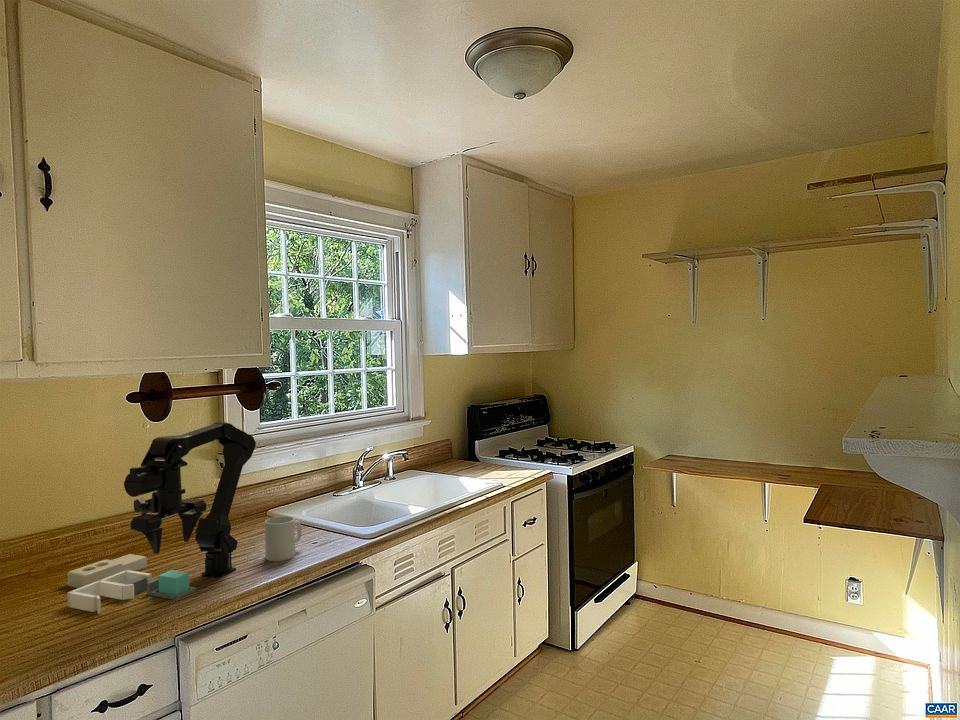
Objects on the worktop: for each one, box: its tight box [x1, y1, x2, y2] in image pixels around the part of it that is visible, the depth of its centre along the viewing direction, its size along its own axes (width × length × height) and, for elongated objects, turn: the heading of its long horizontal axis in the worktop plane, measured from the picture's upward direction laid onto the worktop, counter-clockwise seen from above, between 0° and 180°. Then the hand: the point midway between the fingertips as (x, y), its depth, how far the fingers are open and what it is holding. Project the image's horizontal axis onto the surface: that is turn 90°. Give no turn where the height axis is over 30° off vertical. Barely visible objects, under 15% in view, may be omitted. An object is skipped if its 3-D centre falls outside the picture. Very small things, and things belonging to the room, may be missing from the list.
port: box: [66, 570, 153, 615], centre depth 154 cm, size 11×16×4 cm
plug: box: [158, 569, 190, 595], centre depth 157 cm, size 7×4×5 cm, turn 69°
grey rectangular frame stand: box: [146, 578, 197, 601], centre depth 157 cm, size 10×6×3 cm, turn 68°
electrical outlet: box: [66, 553, 148, 589], centre depth 170 cm, size 7×4×18 cm
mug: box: [264, 515, 303, 562], centre depth 184 cm, size 12×8×11 cm
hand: (171, 547), depth 156 cm, fingers open, 9 cm apart
